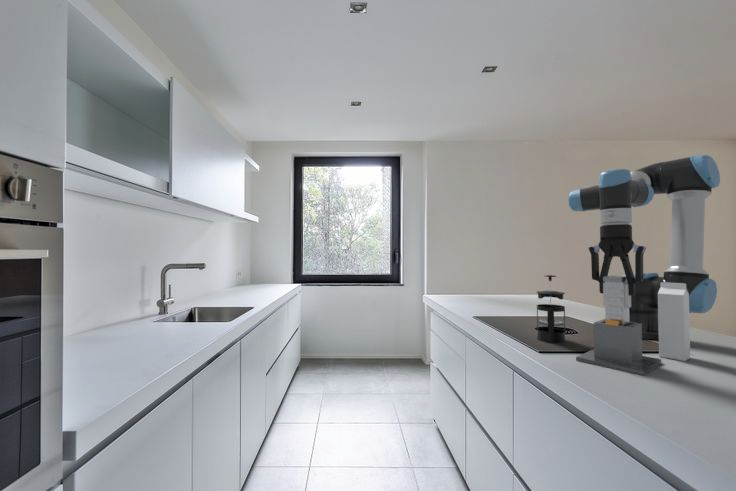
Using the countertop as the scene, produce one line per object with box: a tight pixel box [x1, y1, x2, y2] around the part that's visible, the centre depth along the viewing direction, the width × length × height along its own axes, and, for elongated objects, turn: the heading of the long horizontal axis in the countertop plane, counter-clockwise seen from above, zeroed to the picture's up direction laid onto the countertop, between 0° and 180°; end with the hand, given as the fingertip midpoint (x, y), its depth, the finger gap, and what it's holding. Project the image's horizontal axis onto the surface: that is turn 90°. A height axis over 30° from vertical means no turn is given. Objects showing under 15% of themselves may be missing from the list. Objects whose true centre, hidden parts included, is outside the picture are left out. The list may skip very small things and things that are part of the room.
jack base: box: [575, 318, 662, 376], centre depth 101 cm, size 16×16×12 cm
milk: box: [658, 282, 691, 362], centre depth 105 cm, size 6×6×22 cm
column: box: [603, 275, 630, 326], centre depth 101 cm, size 7×4×20 cm, turn 129°
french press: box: [536, 274, 567, 344], centre depth 127 cm, size 12×9×23 cm
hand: (617, 305), depth 101 cm, fingers closed on column, 4 cm apart
